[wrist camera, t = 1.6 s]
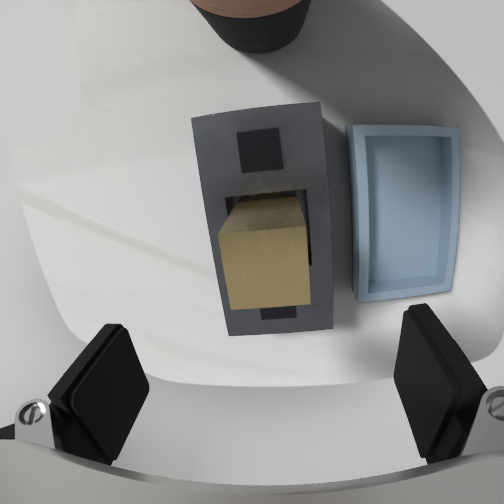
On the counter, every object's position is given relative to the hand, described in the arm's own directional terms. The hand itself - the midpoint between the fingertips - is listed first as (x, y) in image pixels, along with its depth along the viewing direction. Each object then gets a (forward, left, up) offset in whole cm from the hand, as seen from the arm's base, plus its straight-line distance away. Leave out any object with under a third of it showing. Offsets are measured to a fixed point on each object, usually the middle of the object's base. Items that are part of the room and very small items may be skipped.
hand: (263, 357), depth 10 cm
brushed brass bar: (-1, 0, -15) cm, 15 cm away
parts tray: (0, +11, -17) cm, 20 cm away
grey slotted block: (-1, 0, -17) cm, 17 cm away
